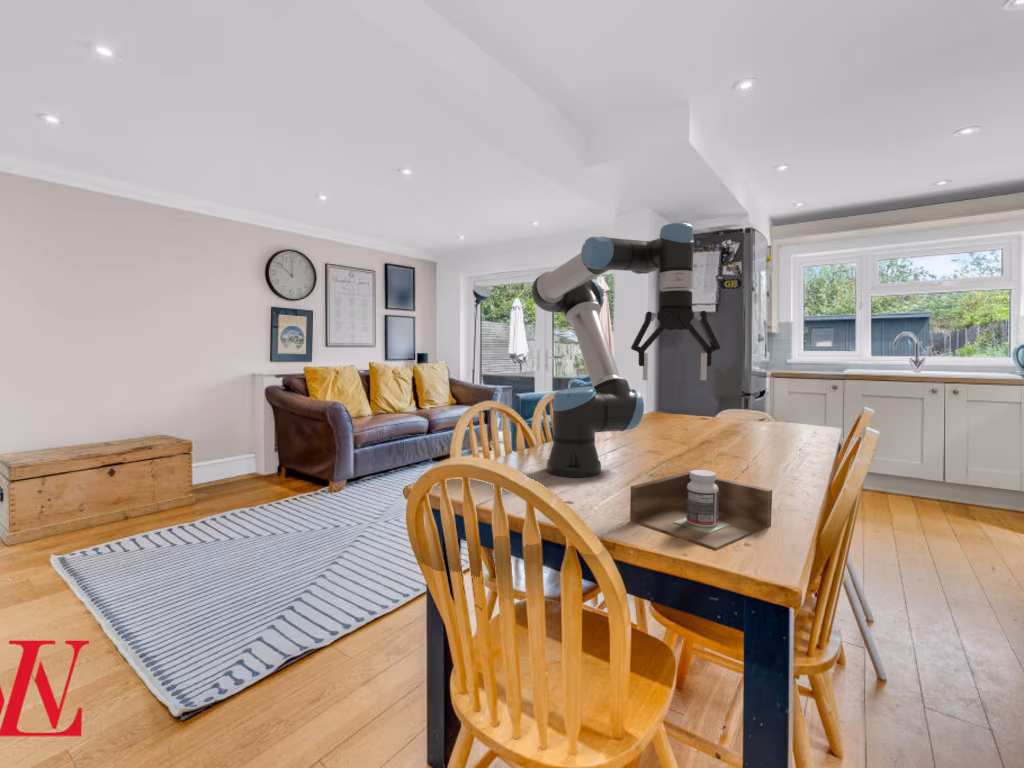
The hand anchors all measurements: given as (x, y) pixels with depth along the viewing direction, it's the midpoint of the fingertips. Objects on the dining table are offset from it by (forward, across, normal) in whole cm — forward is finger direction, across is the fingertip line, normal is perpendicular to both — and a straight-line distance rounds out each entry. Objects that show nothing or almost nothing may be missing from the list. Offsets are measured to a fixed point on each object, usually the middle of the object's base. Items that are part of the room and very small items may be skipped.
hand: (674, 380), depth 121 cm
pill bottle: (+26, +1, -26) cm, 37 cm away
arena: (+27, +1, -24) cm, 36 cm away
